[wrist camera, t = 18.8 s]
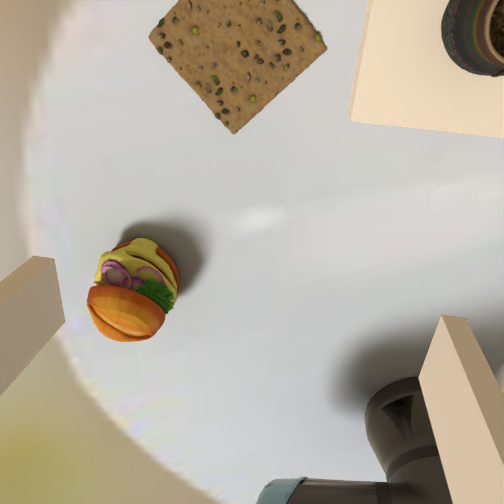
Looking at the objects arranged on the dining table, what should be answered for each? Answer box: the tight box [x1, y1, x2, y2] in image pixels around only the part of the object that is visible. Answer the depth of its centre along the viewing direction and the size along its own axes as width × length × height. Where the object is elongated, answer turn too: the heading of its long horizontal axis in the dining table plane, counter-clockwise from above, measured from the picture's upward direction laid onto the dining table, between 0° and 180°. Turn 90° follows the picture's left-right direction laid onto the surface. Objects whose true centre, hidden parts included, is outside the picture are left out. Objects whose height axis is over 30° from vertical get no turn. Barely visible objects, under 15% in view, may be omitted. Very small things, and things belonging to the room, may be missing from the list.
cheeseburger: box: [87, 238, 179, 342], centre depth 49 cm, size 10×11×10 cm
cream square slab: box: [348, 0, 504, 138], centre depth 34 cm, size 16×16×5 cm
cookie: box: [149, 0, 327, 134], centre depth 38 cm, size 12×12×1 cm
